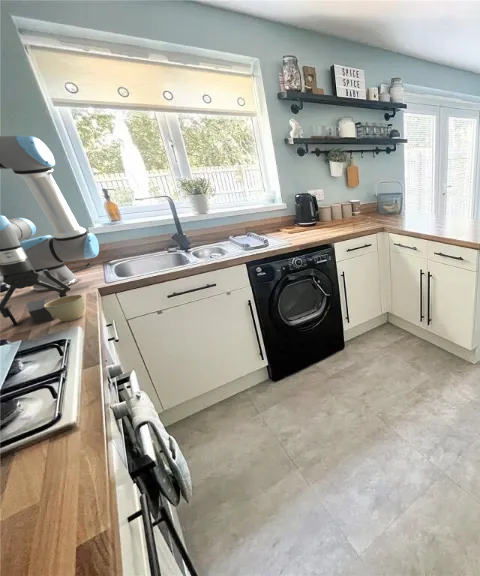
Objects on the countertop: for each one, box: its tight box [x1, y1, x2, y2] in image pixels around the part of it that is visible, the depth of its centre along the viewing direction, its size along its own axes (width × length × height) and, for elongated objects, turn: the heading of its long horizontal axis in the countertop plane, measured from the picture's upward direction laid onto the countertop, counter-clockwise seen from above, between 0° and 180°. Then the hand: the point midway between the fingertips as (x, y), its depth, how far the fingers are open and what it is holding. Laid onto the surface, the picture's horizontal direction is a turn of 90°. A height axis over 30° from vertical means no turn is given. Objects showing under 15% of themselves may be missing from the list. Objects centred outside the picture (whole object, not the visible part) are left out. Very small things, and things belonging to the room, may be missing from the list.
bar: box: [26, 298, 54, 325], centre depth 113 cm, size 14×4×5 cm, turn 50°
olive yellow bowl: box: [44, 294, 85, 323], centre depth 110 cm, size 10×10×7 cm
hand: (42, 316), depth 114 cm, fingers open, 13 cm apart
